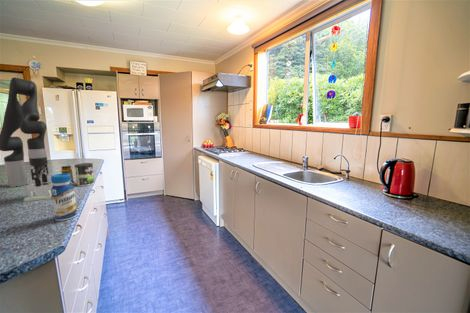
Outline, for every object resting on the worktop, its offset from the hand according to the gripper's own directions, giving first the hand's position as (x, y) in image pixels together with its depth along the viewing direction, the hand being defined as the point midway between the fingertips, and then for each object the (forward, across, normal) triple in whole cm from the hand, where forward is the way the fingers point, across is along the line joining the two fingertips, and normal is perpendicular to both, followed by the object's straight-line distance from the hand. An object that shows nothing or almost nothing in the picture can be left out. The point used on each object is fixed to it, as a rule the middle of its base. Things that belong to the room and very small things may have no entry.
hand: (41, 184), depth 123 cm
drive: (+6, 0, 0) cm, 6 cm away
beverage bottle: (+7, -38, -21) cm, 44 cm away
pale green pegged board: (+8, 0, 0) cm, 8 cm away
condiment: (+8, +31, -4) cm, 32 cm away
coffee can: (+8, +21, -16) cm, 28 cm away
